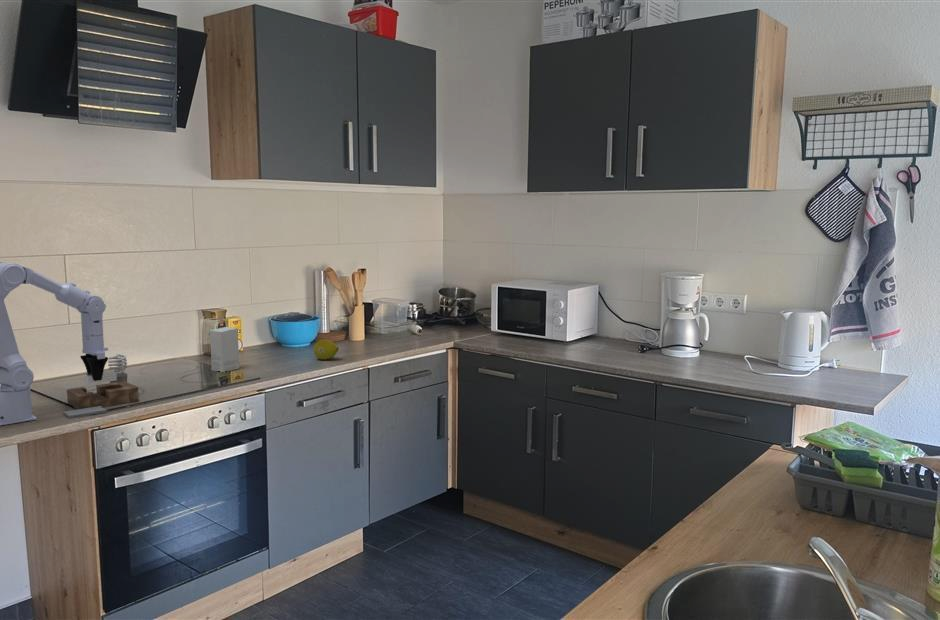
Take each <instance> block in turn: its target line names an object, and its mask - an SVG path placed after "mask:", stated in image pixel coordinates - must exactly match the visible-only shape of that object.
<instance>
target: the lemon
mask: <svg viewBox="0 0 940 620" xmlns="http://www.w3.org/2000/svg"><path fill="white" fill-rule="evenodd" d="M338 352H339V346H338V345H337V344H336V343H335V342H333V341H332V340H330V339H329V340H328V339H321V340H318V341H316V343H315V344H314V347H313V354H314V356H315V357H316V358H317V359H318V360H321V361H322V360H323V361H327V360H331V359H332V358H334V357H335V356H336V355H337V353H338Z"/></svg>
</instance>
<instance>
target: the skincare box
mask: <svg viewBox="0 0 940 620" xmlns="http://www.w3.org/2000/svg"><path fill="white" fill-rule="evenodd" d="M209 338H210V339H209V340H210V356H211V357H210V360H211V361H210V362H211V363H210V364H211V371H212V372H216V371H220V372H219V373H222V372H224V373H226V372H225V371H227V372H231V371H234V370H239V369H240V356H239V355H240V353H239V352H240V349H239V328H238V327H232V326H224V327H220V328H214V329H209Z"/></svg>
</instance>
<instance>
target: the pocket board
mask: <svg viewBox="0 0 940 620" xmlns="http://www.w3.org/2000/svg"><path fill="white" fill-rule="evenodd" d="M95 387H96V392H93V391H90V392H88V391H87V388H86V387H84V386H81V387H73V388H67V389H66V397H67V398H66V399H67V404H68V403H69V404H70V405H69V404H68V405H69V406H71V405H72V406H73V407H72V406H71V407H72V408H74V409H75V410H78V409H84V408H90V407H96V406H101V407H103V408H107V407H111V406H119V405H124V404H131V403H137V402H139V401H140V399H139V398H140V397H139V387H138V386H136V385H134V384H132V383H129V382H128V381H127V382H126V381H122V382H115V383H110V382H108V383H103V384H96V385H95Z"/></svg>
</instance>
